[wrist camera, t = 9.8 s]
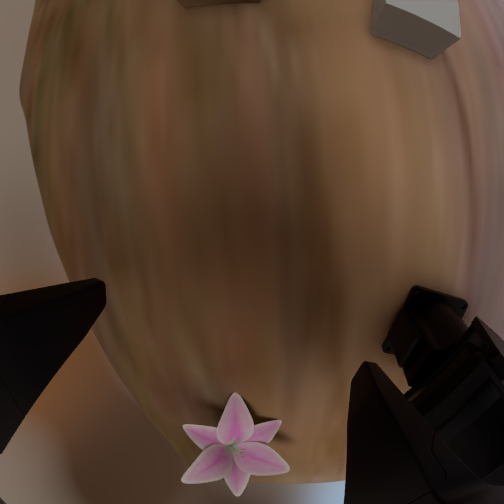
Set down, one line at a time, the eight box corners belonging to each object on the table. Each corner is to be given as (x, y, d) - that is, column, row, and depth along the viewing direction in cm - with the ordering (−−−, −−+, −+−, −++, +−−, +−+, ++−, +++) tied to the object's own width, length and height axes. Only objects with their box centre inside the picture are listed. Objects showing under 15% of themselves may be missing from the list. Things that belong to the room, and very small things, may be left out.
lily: (297, 440, 29) (312, 481, 19) (218, 469, 28) (212, 513, 18) (256, 370, 30) (260, 401, 21) (172, 404, 29) (149, 441, 20)
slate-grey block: (431, 15, 11) (456, -11, 6) (430, 59, 12) (460, 38, 8) (374, -9, 11) (387, -42, 6) (369, 34, 13) (385, 2, 8)
